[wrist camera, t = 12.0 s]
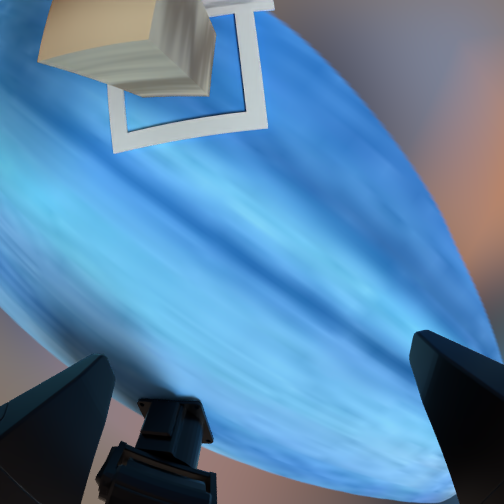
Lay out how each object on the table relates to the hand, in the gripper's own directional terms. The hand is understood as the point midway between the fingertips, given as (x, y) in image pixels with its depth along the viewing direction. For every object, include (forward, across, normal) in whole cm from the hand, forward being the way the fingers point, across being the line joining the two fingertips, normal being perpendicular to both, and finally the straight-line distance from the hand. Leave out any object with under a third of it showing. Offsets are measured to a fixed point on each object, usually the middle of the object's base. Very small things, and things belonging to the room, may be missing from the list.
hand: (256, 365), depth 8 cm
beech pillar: (+13, +4, -12) cm, 18 cm away
